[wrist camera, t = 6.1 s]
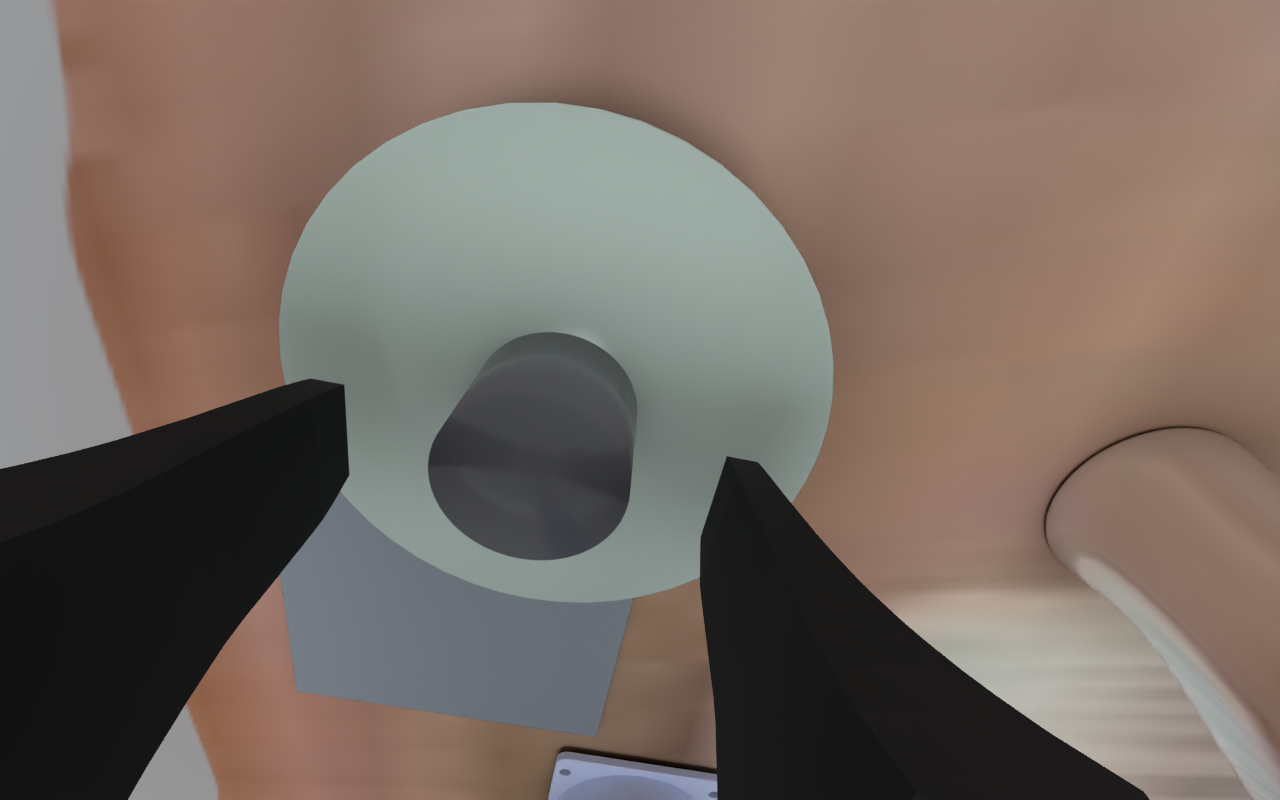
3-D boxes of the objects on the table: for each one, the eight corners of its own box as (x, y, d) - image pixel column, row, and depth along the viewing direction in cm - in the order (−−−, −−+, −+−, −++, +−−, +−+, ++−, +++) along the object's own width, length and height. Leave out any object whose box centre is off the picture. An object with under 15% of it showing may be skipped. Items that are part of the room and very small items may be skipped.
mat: (596, 730, 25) (596, 737, 25) (300, 684, 25) (296, 691, 24) (657, 505, 19) (657, 510, 19) (266, 434, 19) (260, 439, 18)
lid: (741, 617, 16) (758, 734, 13) (316, 544, 16) (232, 651, 13) (917, 177, 11) (1018, 209, 8) (265, 34, 10) (93, 8, 7)
